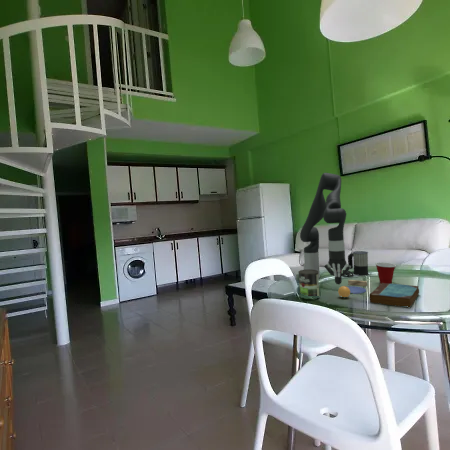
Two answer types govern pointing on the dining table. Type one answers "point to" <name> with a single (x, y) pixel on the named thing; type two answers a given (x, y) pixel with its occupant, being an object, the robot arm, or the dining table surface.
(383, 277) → the plastic cup
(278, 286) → the dining table surface
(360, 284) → the stopper bar
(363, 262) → the milk frother
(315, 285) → the coffee can
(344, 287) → the ball
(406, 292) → the book
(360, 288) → the disc
